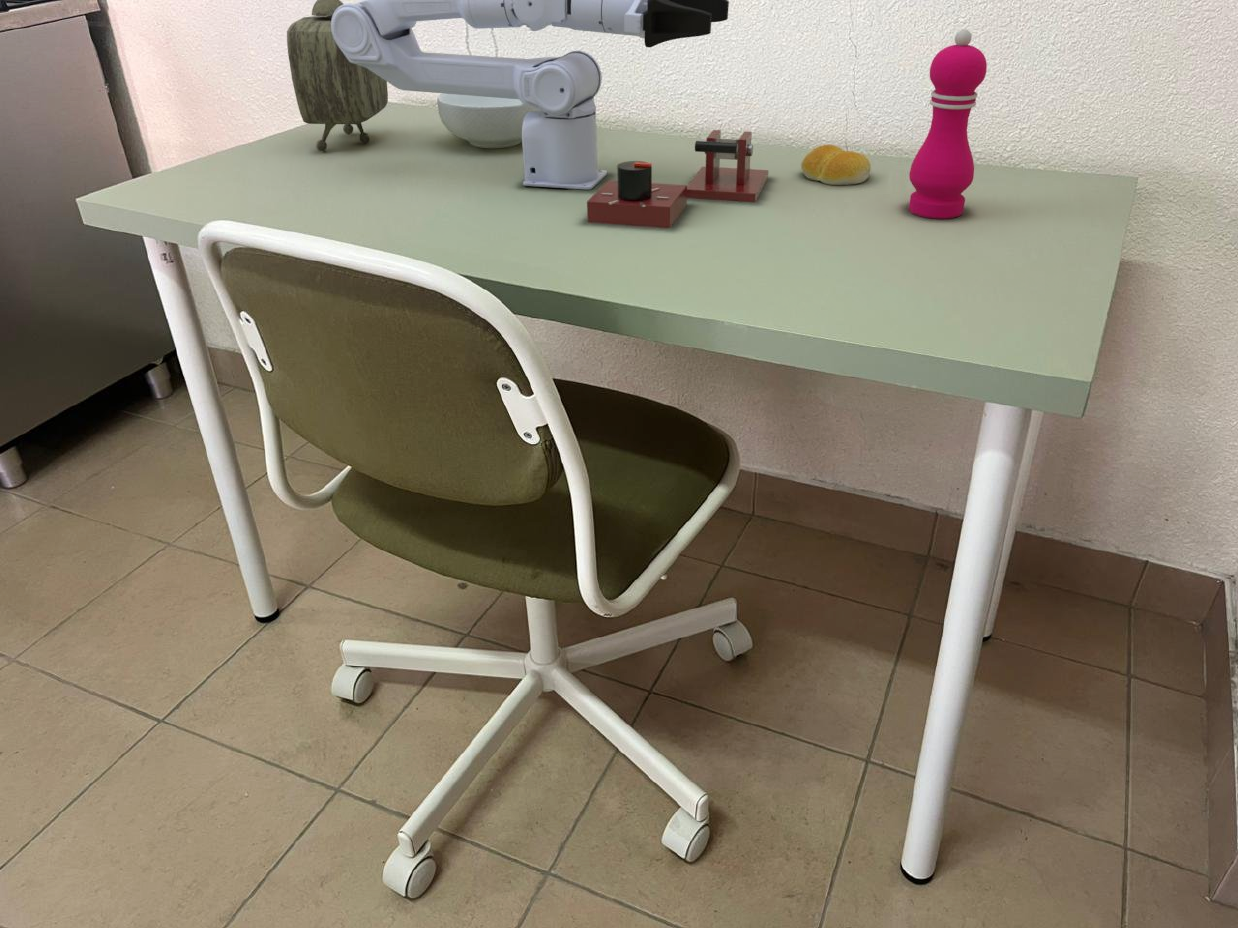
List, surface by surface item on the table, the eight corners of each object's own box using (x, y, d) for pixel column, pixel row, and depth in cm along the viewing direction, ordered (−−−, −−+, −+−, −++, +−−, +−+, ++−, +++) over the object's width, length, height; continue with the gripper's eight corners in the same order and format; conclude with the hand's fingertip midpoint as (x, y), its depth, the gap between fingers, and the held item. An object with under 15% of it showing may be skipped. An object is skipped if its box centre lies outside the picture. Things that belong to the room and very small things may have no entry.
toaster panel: (585, 225, 112) (585, 201, 111) (609, 201, 120) (608, 179, 119) (668, 231, 110) (668, 207, 109) (686, 206, 118) (687, 183, 116)
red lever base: (755, 203, 118) (758, 147, 115) (684, 198, 121) (685, 143, 117) (767, 179, 127) (771, 126, 124) (701, 175, 129) (703, 123, 126)
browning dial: (613, 200, 112) (613, 166, 110) (623, 190, 115) (622, 157, 113) (646, 202, 111) (646, 168, 109) (655, 192, 114) (655, 159, 112)
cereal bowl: (546, 155, 140) (543, 105, 136) (433, 157, 140) (427, 107, 136) (554, 128, 154) (552, 82, 150) (452, 130, 155) (447, 84, 151)
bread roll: (844, 191, 122) (847, 159, 120) (790, 177, 128) (793, 146, 126) (883, 178, 127) (887, 147, 124) (830, 165, 132) (832, 135, 130)
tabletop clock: (343, 132, 155) (314, -42, 142) (396, 132, 154) (372, -42, 141) (306, 154, 143) (271, -33, 130) (364, 155, 142) (334, -34, 128)
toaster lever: (735, 159, 112) (737, 137, 111) (693, 156, 113) (695, 135, 113) (749, 160, 122) (750, 140, 122) (710, 158, 124) (712, 138, 123)
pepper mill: (968, 204, 116) (999, 25, 106) (966, 222, 111) (999, 35, 100) (907, 200, 118) (932, 24, 108) (901, 217, 113) (927, 33, 102)
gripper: (587, -19, 107) (704, -9, 104) (630, -40, 118) (737, -32, 115) (588, 48, 111) (700, 59, 108) (629, 22, 122) (732, 31, 119)
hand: (719, 17), depth 111 cm, fingers open, 7 cm apart
